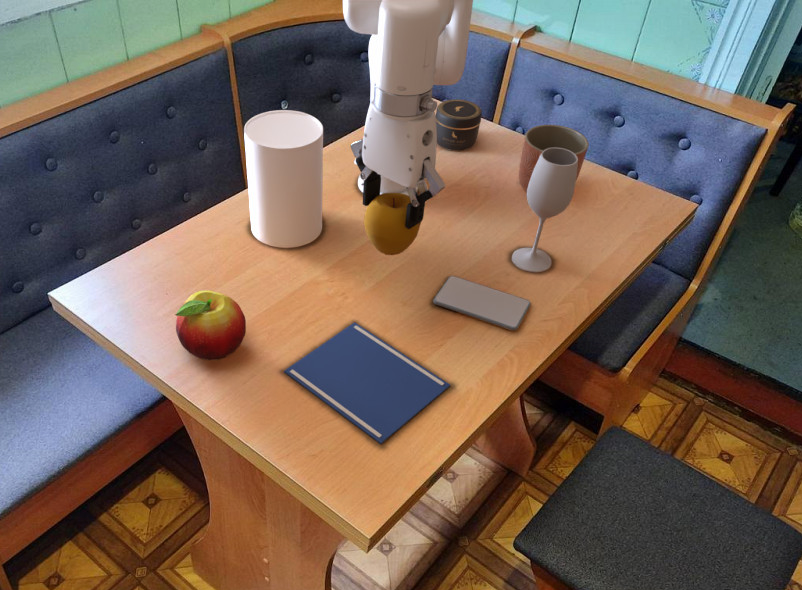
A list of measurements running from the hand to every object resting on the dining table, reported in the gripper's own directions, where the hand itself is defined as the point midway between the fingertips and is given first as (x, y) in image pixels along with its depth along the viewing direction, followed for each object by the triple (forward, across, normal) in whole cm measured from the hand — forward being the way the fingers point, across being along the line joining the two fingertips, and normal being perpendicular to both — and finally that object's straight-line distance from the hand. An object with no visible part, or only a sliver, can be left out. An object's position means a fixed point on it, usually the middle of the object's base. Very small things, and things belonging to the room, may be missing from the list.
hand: (391, 212), depth 107 cm
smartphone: (+20, -10, -14) cm, 27 cm away
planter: (+20, +3, -54) cm, 58 cm away
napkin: (+20, -8, +13) cm, 25 cm away
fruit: (+21, +14, +25) cm, 35 cm away
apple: (+7, 0, 0) cm, 7 cm away
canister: (+20, +30, -6) cm, 37 cm away
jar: (+20, +28, -56) cm, 66 cm away
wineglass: (+20, -9, -31) cm, 38 cm away
